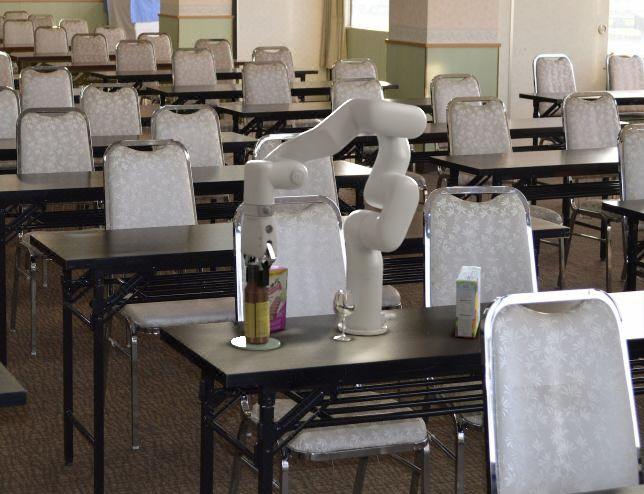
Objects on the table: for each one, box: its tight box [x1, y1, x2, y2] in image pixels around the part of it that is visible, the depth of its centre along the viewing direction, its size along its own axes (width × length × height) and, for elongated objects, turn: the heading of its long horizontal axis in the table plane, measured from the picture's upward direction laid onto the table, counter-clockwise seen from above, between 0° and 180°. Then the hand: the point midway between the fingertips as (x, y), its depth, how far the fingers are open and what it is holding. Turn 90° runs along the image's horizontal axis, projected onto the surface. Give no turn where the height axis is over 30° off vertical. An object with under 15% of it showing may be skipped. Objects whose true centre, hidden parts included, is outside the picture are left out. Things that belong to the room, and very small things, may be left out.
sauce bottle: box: [243, 261, 271, 344], centre depth 305 cm, size 7×6×20 cm
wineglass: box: [332, 289, 355, 342], centre depth 313 cm, size 6×6×12 cm
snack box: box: [454, 265, 482, 339], centre depth 326 cm, size 21×6×15 cm, turn 164°
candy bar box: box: [245, 265, 289, 333], centre depth 320 cm, size 11×5×16 cm, turn 135°
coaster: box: [231, 336, 281, 351], centre depth 306 cm, size 12×12×1 cm
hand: (257, 283), depth 305 cm, fingers closed on sauce bottle, 4 cm apart
